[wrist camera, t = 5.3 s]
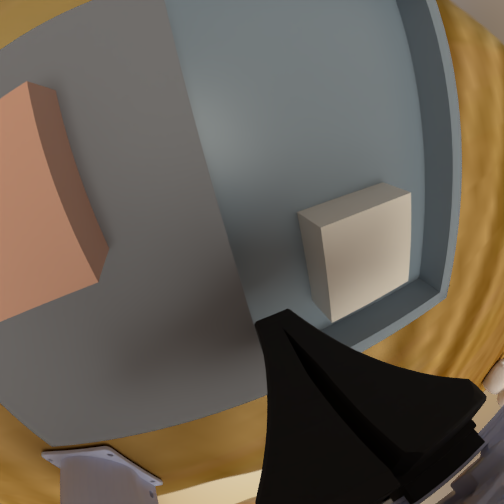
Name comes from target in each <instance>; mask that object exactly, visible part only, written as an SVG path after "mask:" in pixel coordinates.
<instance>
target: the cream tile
mask: <svg viewBox="0 0 504 504" xmlns="http://www.w3.org/2000/svg"><path fill="white" fill-rule="evenodd" d="M297 215H298V220H299V225H300V231H301V236H302V242H303V247H304V253H305V258H306V264H307V270H308V276H309V282H310V288H311V295H312V301H313V302H314V303H315V304H316V305H317V306H318V308H319V309H320V310H321V311H322V312H323V313H324V314H325V316H326V317H327V318H328V319H329V320H330V321H331V323H333V322H335V321H337V320H339V319H341V318H343V317H345V316H347V315H348V314H350V313H352V312H354V311H356V310H358V309H360V308H362V307H364V306H365V305H367V304H369V303H371V302H373V301H374V300H376V299H378V298H380V297H382V296H383V295H385V294H387V293H389V292H390V291H392V290H394V289H395V288H397V287H399V286H401V285H402V284H404V283H406V282H407V281H408V277H409V265H410V248H411V192H408V191H406V190H403V189H400V188H398V187H395V186H392V185H389V184H386V183H383V182H382V183H379V184H376V185H373V186H370V187H367V188H364V189H362V190H359V191H356V192H353V193H350V194H347V195H344V196H341V197H338V198H336V199H333V200H330V201H327V202H324V203H321V204H318V205H316V206H313V207H310V208H307V209H304V210H302V211H299V212H297Z"/></svg>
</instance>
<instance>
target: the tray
mask: <svg viewBox="0 0 504 504" xmlns="http://www.w3.org/2000/svg"><path fill="white" fill-rule="evenodd" d="M164 1H165V5H166V9H167V13H168V18H169V22H170V26H171V30H172V34H173V38H174V42H175V46H176V50H177V54H178V58H179V62H180V66H181V70H182V74H183V78H184V81H185V85H186V89H187V93H188V97H189V101H190V104H191V108H192V112H193V116H194V119H195V123H196V127H197V130H198V134H199V138H200V142H201V145H202V149H203V152H204V156H205V160H206V163H207V167H208V171H209V174H210V178H211V181H212V185H213V188H214V192H215V195H216V199H217V202H218V206H219V209H220V213H221V216H222V220H223V223H224V227H225V230H226V234H227V237H228V240H229V244H230V247H231V251H232V254H233V257H234V261H235V264H236V267H237V271H238V274H239V278H240V281H241V284H242V287H243V291H244V294H245V297H246V301H247V304H248V307H249V310H250V314H251V317H252V320H253V323H254V324H255V322H256V321H258V320H261V319H263V318H266V317H268V316H271V315H273V314H276V313H278V312H280V311H283V310H285V309H290V310H292V311H293V312H294V313H296V314H297V315H298V316H300V317H301V318H303V319H304V320H305V321H307V322H308V323H310V324H311V325H313V326H314V327H316V328H317V329H319V330H320V331H322V332H324V333H325V334H327V335H329V336H330V337H332V338H334V339H335V340H337V341H339V342H341V343H343V344H345V345H346V346H348V347H350V348H352V349H354V350H356V351H359V352H363V351H364V350H366V349H368V348H370V347H371V346H373V345H375V344H377V343H378V342H380V341H382V340H383V339H385V338H387V337H388V336H390V335H392V334H393V333H395V332H396V331H398V330H400V329H401V328H403V327H404V326H406V325H407V324H409V323H411V322H412V321H414V320H415V319H417V318H418V317H420V316H421V315H423V314H424V313H425V312H427V311H428V310H430V309H431V308H433V307H434V306H435V305H437V304H438V303H440V302H441V301H442V300H444V299H445V298H446V296H447V292H448V287H449V282H450V277H451V272H452V267H453V261H454V255H455V248H456V241H457V233H458V224H459V214H460V201H461V178H462V150H461V128H460V115H459V105H458V96H457V89H456V82H455V76H454V70H453V64H452V59H451V55H450V50H449V46H448V41H447V37H446V33H445V30H444V26H443V22H442V19H441V16H440V12H439V9H438V6H437V3H436V0H164ZM382 182H383V183H386V184H389V185H392V186H395V187H398V188H400V189H403V190H406V191H408V192H411V248H410V265H409V277H408V281H407V282H406V283H404V284H402V285H401V286H399V287H397V288H395V289H394V290H392V291H390V292H389V293H387V294H385V295H383V296H382V297H380V298H378V299H376V300H374V301H373V302H371V303H369V304H367V305H365V306H364V307H362V308H360V309H358V310H356V311H354V312H352V313H350V314H348V315H347V316H345V317H343V318H341V319H339V320H337V321H335V322H333V323H331V321H330V320H329V319H328V318H327V317H326V316H325V314H324V313H323V312H322V311H321V310H320V309H319V308H318V306H317V305H316V304H315V303H314V302H313V301H312V295H311V288H310V282H309V276H308V270H307V264H306V258H305V253H304V247H303V242H302V236H301V231H300V225H299V220H298V215H297V212H299V211H302V210H304V209H307V208H310V207H313V206H316V205H318V204H321V203H324V202H327V201H330V200H333V199H336V198H338V197H341V196H344V195H347V194H350V193H353V192H356V191H359V190H362V189H364V188H367V187H370V186H373V185H376V184H379V183H382ZM254 327H255V326H254ZM258 340H259V339H258ZM259 343H260V342H259ZM260 346H261V345H260Z"/></svg>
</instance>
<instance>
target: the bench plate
mask: <svg viewBox="0 0 504 504" xmlns="http://www.w3.org/2000/svg"><path fill="white" fill-rule="evenodd" d="M26 81H28V82H31V83H35V84H38V85H41V86H44V87H47V88H50V89H53V90H56V94H57V98H58V103H59V107H60V111H61V115H62V119H63V123H64V126H65V130H66V133H67V137H68V140H69V144H70V147H71V150H72V153H73V157H74V160H75V163H76V166H77V169H78V172H79V175H80V177H81V180H82V183H83V186H84V189H85V191H86V194H87V197H88V199H89V202H90V204H91V207H92V209H93V212H94V214H95V217H96V219H97V222H98V224H99V226H100V229H101V231H102V233H103V236H104V238H105V240H106V242H107V245H108V247H109V251H108V254H107V257H106V260H105V263H104V266H103V269H102V272H101V275H100V279H99V282H98V283H95V284H93V285H90V286H87V287H85V288H82V289H80V290H77V291H75V292H72V293H70V294H67V295H65V296H62V297H60V298H57V299H55V300H52V301H50V302H47V303H45V304H42V305H40V306H37V307H35V308H32V309H30V310H28V311H25V312H23V313H20V314H18V315H15V316H13V317H11V318H8V319H6V320H4V321H1V322H0V403H1V404H2V405H3V406H4V407H5V408H6V409H7V410H8V411H9V412H10V413H11V414H12V415H14V416H15V417H16V418H17V419H18V420H19V421H20V422H21V423H23V424H24V425H25V426H26V427H27V428H29V429H30V430H31V431H32V432H33V433H35V434H36V435H37V436H38V437H40V438H41V439H42V440H44V441H45V442H46V443H48V444H49V445H50V446H52V447H53V446H65V445H75V444H84V443H91V442H98V441H105V440H111V439H117V438H122V437H127V436H132V435H137V434H142V433H146V432H151V431H155V430H159V429H163V428H167V427H171V426H175V425H179V424H182V423H186V422H189V421H193V420H196V419H200V418H203V417H206V416H209V415H212V414H215V413H218V412H221V411H224V410H227V409H230V408H233V407H236V406H239V405H241V404H244V403H247V402H250V401H252V400H255V399H257V398H260V397H263V396H265V395H267V380H266V368H265V361H264V355H263V352H262V349H261V346H260V343H259V340H258V336H257V333H256V330H255V327H254V323H253V320H252V317H251V314H250V310H249V307H248V304H247V301H246V297H245V294H244V291H243V287H242V284H241V281H240V278H239V274H238V271H237V267H236V264H235V261H234V257H233V254H232V251H231V247H230V244H229V240H228V237H227V234H226V230H225V227H224V223H223V220H222V216H221V213H220V209H219V206H218V202H217V199H216V195H215V192H214V188H213V185H212V181H211V178H210V174H209V171H208V167H207V163H206V160H205V156H204V152H203V149H202V145H201V142H200V138H199V134H198V130H197V127H196V123H195V119H194V116H193V112H192V108H191V104H190V101H189V97H188V93H187V89H186V85H185V81H184V78H183V74H182V70H181V66H180V62H179V58H178V54H177V50H176V46H175V42H174V38H173V34H172V30H171V26H170V22H169V18H168V13H167V9H166V5H165V1H164V0H92V1H90V2H87V3H85V4H82V5H80V6H78V7H75V8H73V9H71V10H69V11H66V12H64V13H62V14H60V15H58V16H56V17H54V18H52V19H50V20H48V21H46V22H45V23H43V24H41V25H39V26H37V27H36V28H34V29H32V30H30V31H29V32H27V33H25V34H24V35H22V36H20V37H19V38H17V39H16V40H14V41H13V42H11V43H10V44H8V45H7V46H5V47H4V48H2V49H1V50H0V99H1V98H2V97H3V96H5V95H6V94H8V93H9V92H11V91H12V90H14V89H15V88H17V87H18V86H20V85H22V84H23V83H25V82H26Z"/></svg>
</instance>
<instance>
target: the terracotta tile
mask: <svg viewBox="0 0 504 504" xmlns="http://www.w3.org/2000/svg"><path fill="white" fill-rule="evenodd" d="M108 251H109V247H108V245H107V242H106V240H105V238H104V236H103V233H102V231H101V229H100V226H99V224H98V222H97V219H96V217H95V214H94V212H93V209H92V207H91V204H90V202H89V199H88V197H87V194H86V191H85V189H84V186H83V183H82V180H81V177H80V175H79V172H78V169H77V166H76V163H75V160H74V157H73V153H72V150H71V147H70V144H69V140H68V137H67V133H66V130H65V126H64V123H63V119H62V115H61V111H60V107H59V103H58V98H57V94H56V90H53V89H50V88H47V87H44V86H41V85H38V84H35V83H31V82H28V81H26V82H25V83H23V84H22V85H20V86H18V87H17V88H15V89H14V90H12V91H11V92H9V93H8V94H6V95H5V96H3V97H2V98H1V99H0V322H1V321H4V320H6V319H8V318H11V317H13V316H15V315H18V314H20V313H23V312H25V311H28V310H30V309H32V308H35V307H37V306H40V305H42V304H45V303H47V302H50V301H52V300H55V299H57V298H60V297H62V296H65V295H67V294H70V293H72V292H75V291H77V290H80V289H82V288H85V287H87V286H90V285H93V284H95V283H98V282H99V279H100V275H101V272H102V269H103V266H104V263H105V260H106V257H107V254H108Z"/></svg>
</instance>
